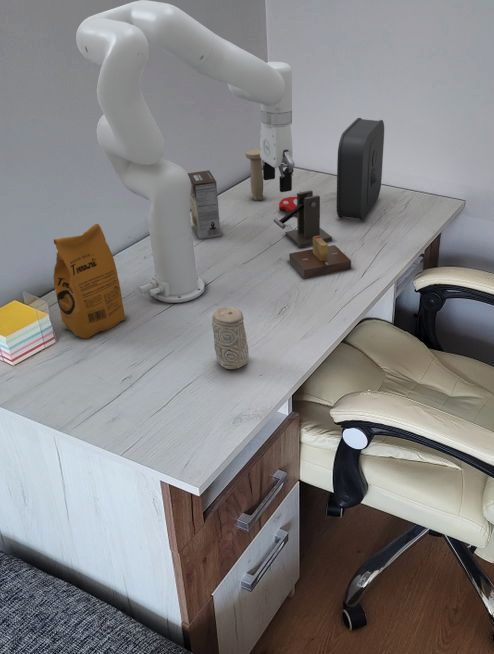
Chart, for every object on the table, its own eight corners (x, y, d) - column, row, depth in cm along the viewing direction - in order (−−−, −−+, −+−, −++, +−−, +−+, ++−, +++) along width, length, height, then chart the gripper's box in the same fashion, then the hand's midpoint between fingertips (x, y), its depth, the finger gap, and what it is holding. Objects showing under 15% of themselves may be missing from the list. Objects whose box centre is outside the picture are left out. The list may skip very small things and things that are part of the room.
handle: (270, 197, 210) (268, 150, 201) (256, 203, 205) (254, 155, 197) (258, 194, 212) (256, 147, 204) (245, 200, 208) (242, 152, 199)
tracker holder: (314, 212, 197) (281, 206, 195) (310, 224, 200) (278, 218, 198) (311, 189, 205) (280, 183, 203) (308, 200, 208) (277, 195, 206)
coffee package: (57, 326, 147) (34, 235, 134) (106, 305, 155) (88, 216, 142) (82, 343, 141) (60, 249, 129) (131, 320, 149) (115, 230, 137)
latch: (283, 231, 177) (279, 224, 176) (275, 224, 181) (271, 218, 179) (318, 204, 178) (314, 197, 177) (309, 198, 182) (306, 191, 180)
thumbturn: (327, 260, 169) (327, 243, 166) (321, 261, 168) (321, 244, 165) (318, 251, 173) (319, 234, 170) (312, 252, 172) (312, 236, 170)
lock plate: (304, 278, 166) (304, 269, 164) (289, 261, 173) (289, 252, 172) (350, 269, 170) (351, 260, 169) (334, 253, 178) (334, 244, 176)
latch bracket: (300, 248, 180) (299, 203, 173) (285, 235, 187) (284, 192, 179) (332, 240, 184) (332, 196, 177) (316, 228, 191) (316, 186, 183)
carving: (231, 349, 140) (227, 300, 133) (256, 363, 136) (253, 313, 129) (208, 362, 136) (203, 312, 129) (233, 377, 132) (229, 326, 125)
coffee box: (192, 226, 191) (186, 172, 182) (214, 223, 193) (209, 169, 184) (199, 239, 184) (193, 183, 175) (221, 236, 186) (217, 180, 177)
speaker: (358, 193, 214) (362, 113, 199) (384, 196, 211) (390, 116, 197) (336, 223, 194) (337, 137, 180) (364, 227, 192) (368, 140, 178)
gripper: (248, 110, 167) (250, 177, 177) (278, 127, 155) (278, 198, 164) (275, 107, 170) (275, 173, 180) (306, 124, 158) (305, 193, 167)
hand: (277, 185), depth 172 cm, fingers open, 9 cm apart
